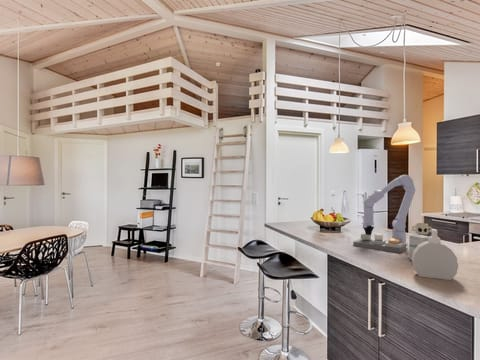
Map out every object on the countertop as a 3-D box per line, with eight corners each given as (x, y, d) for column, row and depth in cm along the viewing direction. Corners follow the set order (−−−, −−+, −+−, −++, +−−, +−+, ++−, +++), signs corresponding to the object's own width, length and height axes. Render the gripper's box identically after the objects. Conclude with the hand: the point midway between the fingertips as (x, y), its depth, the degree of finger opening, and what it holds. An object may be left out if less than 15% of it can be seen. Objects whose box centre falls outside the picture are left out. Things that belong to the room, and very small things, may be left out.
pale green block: (362, 238, 192) (362, 233, 192) (370, 239, 189) (370, 234, 189) (360, 238, 190) (360, 234, 190) (368, 240, 187) (369, 235, 187)
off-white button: (376, 238, 184) (376, 233, 184) (383, 239, 181) (383, 234, 181) (373, 239, 180) (373, 234, 180) (381, 240, 177) (381, 235, 177)
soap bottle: (454, 277, 126) (455, 230, 126) (458, 281, 121) (458, 232, 121) (411, 272, 132) (411, 227, 132) (413, 275, 127) (413, 229, 127)
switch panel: (361, 242, 195) (361, 235, 195) (405, 248, 178) (405, 241, 178) (353, 245, 185) (353, 238, 185) (399, 252, 167) (399, 245, 167)
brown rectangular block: (393, 242, 180) (393, 237, 180) (402, 244, 177) (402, 239, 177) (388, 245, 173) (388, 240, 173) (397, 246, 170) (397, 241, 170)
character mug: (412, 244, 190) (413, 223, 190) (410, 242, 197) (411, 222, 197) (432, 245, 186) (433, 224, 186) (430, 243, 193) (430, 223, 193)
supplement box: (408, 259, 154) (408, 235, 154) (417, 257, 157) (418, 233, 157) (422, 263, 147) (422, 237, 147) (431, 261, 150) (432, 236, 150)
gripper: (366, 215, 201) (366, 235, 201) (358, 217, 190) (357, 238, 191) (377, 216, 196) (377, 236, 196) (369, 218, 186) (369, 239, 186)
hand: (368, 237), depth 193 cm, fingers closed
